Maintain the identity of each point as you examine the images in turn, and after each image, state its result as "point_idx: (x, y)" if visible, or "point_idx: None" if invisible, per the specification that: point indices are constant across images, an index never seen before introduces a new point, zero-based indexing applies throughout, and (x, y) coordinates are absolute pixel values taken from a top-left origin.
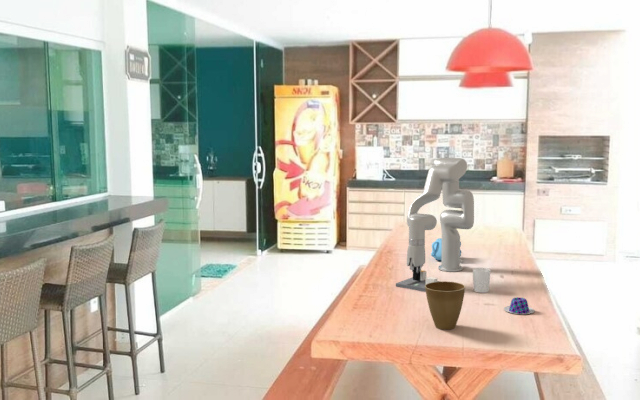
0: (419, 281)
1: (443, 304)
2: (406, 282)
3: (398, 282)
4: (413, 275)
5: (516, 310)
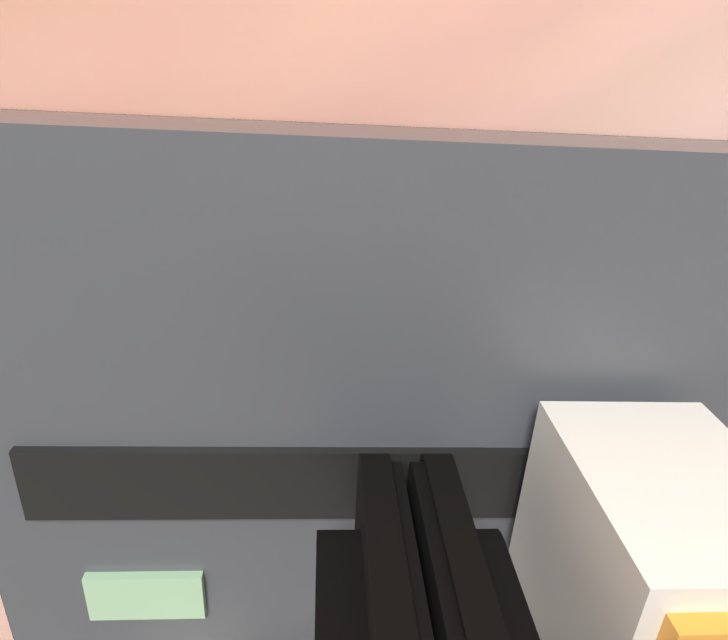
0: None
1: None
2: (194, 323)
3: (17, 131)
4: (317, 596)
5: None
